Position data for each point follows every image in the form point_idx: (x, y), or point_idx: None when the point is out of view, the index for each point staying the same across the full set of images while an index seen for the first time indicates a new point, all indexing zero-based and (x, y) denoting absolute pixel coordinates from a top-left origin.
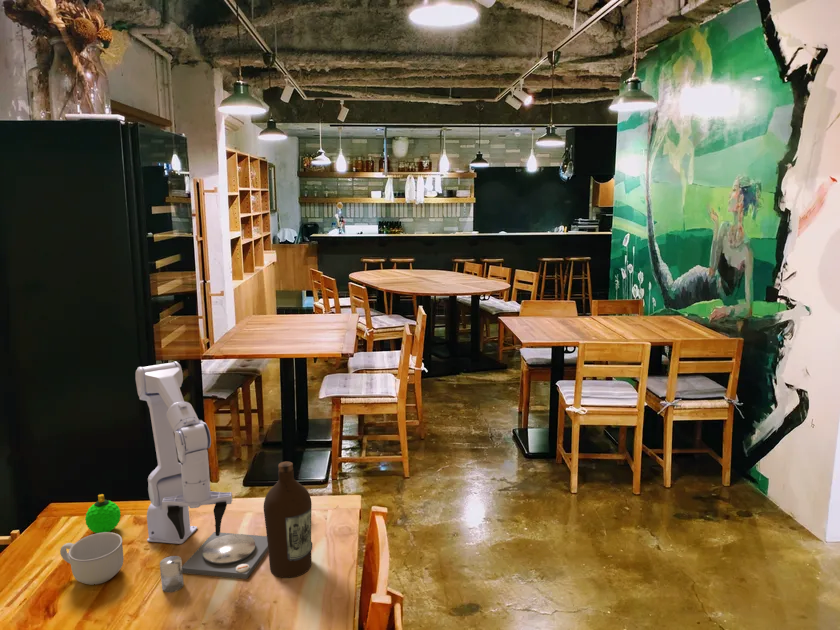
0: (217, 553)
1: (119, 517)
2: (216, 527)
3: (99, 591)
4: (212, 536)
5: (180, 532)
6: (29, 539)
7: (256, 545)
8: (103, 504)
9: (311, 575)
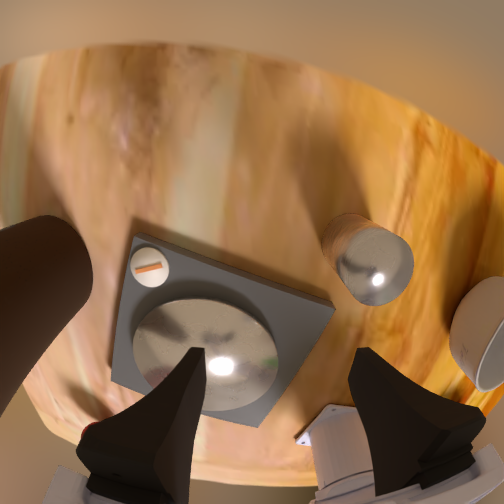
0: (232, 344)
1: None
2: (187, 373)
3: (478, 259)
4: (259, 416)
5: (379, 365)
6: (499, 395)
7: None
8: None
9: (17, 218)
